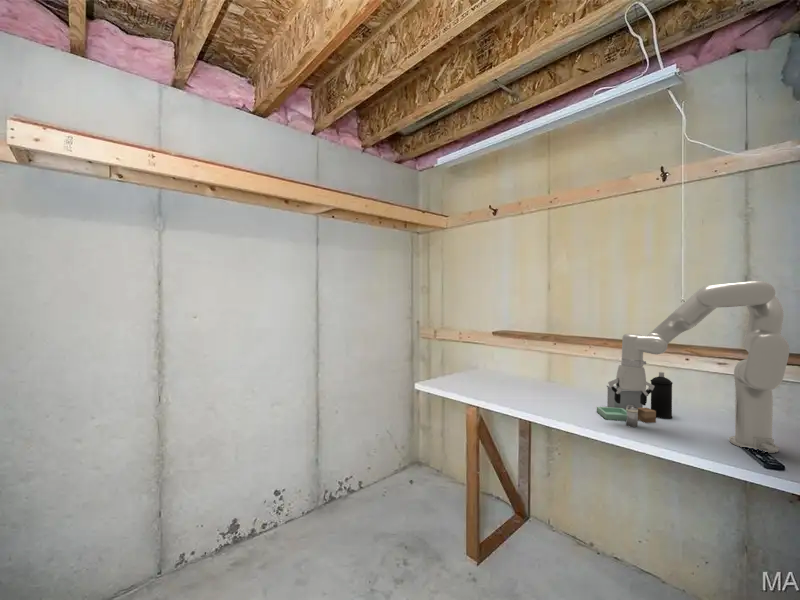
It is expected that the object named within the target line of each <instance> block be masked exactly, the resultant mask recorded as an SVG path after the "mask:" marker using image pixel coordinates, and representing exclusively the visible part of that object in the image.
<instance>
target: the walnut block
mask: <svg viewBox="0 0 800 600" xmlns="http://www.w3.org/2000/svg"><path fill="white" fill-rule="evenodd" d="M638 421H640V422H642V423H644V422H645V424H649V423H653V424H654V423H657V417H656V411H654V410H652V409H651V408H649V407H643V408H638Z"/></svg>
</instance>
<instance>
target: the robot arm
mask: <svg viewBox="0 0 800 600" xmlns="http://www.w3.org/2000/svg"><path fill="white" fill-rule="evenodd" d="M735 307H746V308H747V310H748V313H749V315H748V322H747V326H746V331H745V335H744V338H743V344H742V346H743V347H744V349H745V351H747V353H748V355H747V358H745V359H742V360H740V361H739V362H738V363H736V364H735V366H734V370H733V377H734V386H735V401H734V402H735V404H734V405H735V407H734V408H735V409H734V411H735V415H734V416H735V417H734V419H735V420H734V422H735V423H734V435H732V436H730V437H729V439H728V440H729V442H730V443H731V444H732V445H735V446H737V447H739V446H740V447H739V448H742V447H749V448H754V449H759V450H763V451H766V452H768V454H775V452H776V453H778V452H779V449H780V446H779V445H777V444H775V439H774V438H773V406H774V404H773V402H774V401H773V398H774V395H773V390H775V389H777V388H778V387H779V386H780V385H781V384H782V382H783V380H784V377H785V372H786V369H787V365H788V361H789V356H790V345H789V342H788V341H787V339H786V338H785V337H784V336H782V335H781V334H782V333H781V332H782V329H783V323H784V322H783V321H784V308H783V306H782V304H781V302H780V300H779V299H778V298H777V296H776V289H775V287H774V286H773V284H771V283H769V282H767V281H764V280H750V281H743V282H732V283H731V282H730V283H721V284H709V285H705V286H702V287H701V288H699V289H697V291H696V292H695V293H692V295H691V296H690V297H689V298H688V299H686V301H684V302H683V303H682V304H681V305H680V306H679V307H678V308H677V309H675V310H674V311H673V312H672V313H671V314H670V315H668V317H666V319H664V320H663V321H662V322H661V323H659V324H658V325H657V326H655V328H654V329H653V330H651V332H649V333H648V334H647V335H645V336H644V335H641V334H638V333H637V334H636V333H624V334H623V335H622V343H621V360H620V361H621V364H619V365H618V367H617V372H616V377H615V379H613V380H610V381H608V383H607V385H608V386H610V388H611V389H612V390H613V391H614V392H615V397H614V399H615V401H616V402H617V403H619V404H620V398H621V395H620V394H619V393H620V392H621V391H622V390H630V391H640V392H641V393H642V394H641V395H640V403H641V404H642V405H643V406H644V407H645V406H646V404H647V401H648V397H649V395H651V392H652V390H653V389H654V387H655V386H654V385H652V384H651V382H648V381H647V377H646V371H645V370H646V369H645V367H644V365H645V366H646V365H647V361H644V353H646V354H651V355H662V354H664V353H665V352H666V351H667V350H668V345H669V343H671V342H672V341H673V340H675V338H677V337H678V336H679V335H681V334H683V333H685V332H686V331H690V330H691V329H693V328H694V327H696V326H698V325H699V324H700V323H701V322H702V321H703V320H704V319H705V318H706V317H708V316H709V315H711V313H713V312H714V311H715V310H716V309H717V308H719V309H720V308H735ZM614 386H617V387H616V388H615V387H614ZM647 386H648V388H647Z"/></svg>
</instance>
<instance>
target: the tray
mask: <svg viewBox="0 0 800 600" xmlns="http://www.w3.org/2000/svg"><path fill="white" fill-rule="evenodd" d="M596 412H598V414H599V415H600V416H601V417H602V418H603V419H604V420H606V421H617V420H618V421H620V422H626V410H624V409H623V408H612V407H607V406H596Z"/></svg>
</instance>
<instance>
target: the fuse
mask: <svg viewBox="0 0 800 600" xmlns="http://www.w3.org/2000/svg"><path fill="white" fill-rule="evenodd" d="M625 422H626V426H627V427H629V426H630V428H638V427H639V426H638V425H639V420H638V407H636V406H635V405H631V404H629V405H627V407H626V421H625Z"/></svg>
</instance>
